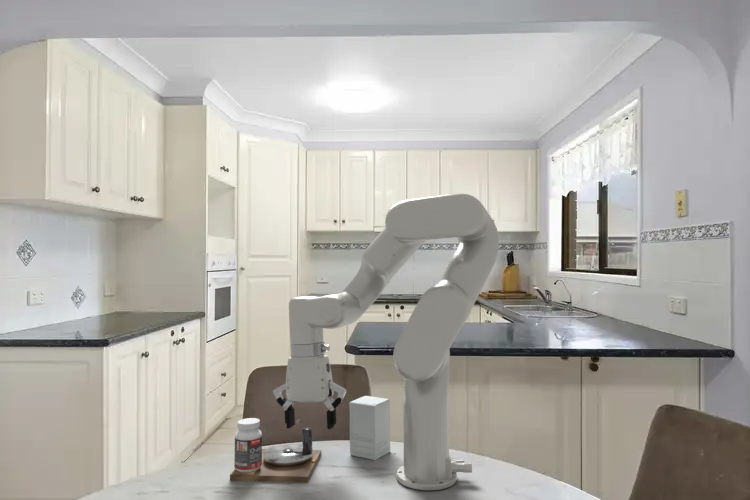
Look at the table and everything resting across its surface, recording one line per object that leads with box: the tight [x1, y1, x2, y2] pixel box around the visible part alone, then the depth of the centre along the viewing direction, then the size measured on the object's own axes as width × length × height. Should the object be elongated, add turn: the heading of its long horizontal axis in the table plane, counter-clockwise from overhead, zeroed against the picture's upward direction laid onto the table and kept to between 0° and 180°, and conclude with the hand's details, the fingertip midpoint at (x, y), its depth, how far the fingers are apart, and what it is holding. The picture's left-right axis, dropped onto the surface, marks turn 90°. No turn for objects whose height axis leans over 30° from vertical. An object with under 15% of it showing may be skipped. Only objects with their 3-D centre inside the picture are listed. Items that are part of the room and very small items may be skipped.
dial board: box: [229, 448, 322, 484], centre depth 112 cm, size 16×16×2 cm
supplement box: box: [348, 395, 391, 461], centre depth 121 cm, size 7×7×13 cm
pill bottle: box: [233, 417, 263, 472], centre depth 108 cm, size 6×6×10 cm
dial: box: [263, 426, 314, 466], centre depth 114 cm, size 11×11×6 cm
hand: (310, 427), depth 114 cm, fingers open, 9 cm apart
